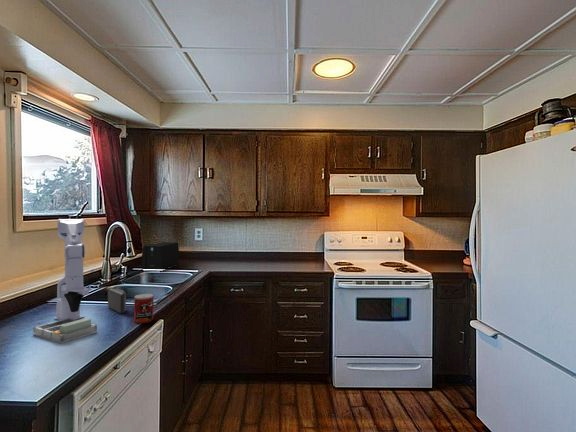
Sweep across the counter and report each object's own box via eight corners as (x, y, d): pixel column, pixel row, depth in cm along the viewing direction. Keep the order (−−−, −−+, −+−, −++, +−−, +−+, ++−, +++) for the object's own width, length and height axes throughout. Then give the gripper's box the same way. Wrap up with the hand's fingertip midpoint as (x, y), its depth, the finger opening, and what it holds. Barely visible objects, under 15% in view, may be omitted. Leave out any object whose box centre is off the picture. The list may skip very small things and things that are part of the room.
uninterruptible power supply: (141, 271, 275) (141, 245, 275) (161, 265, 309) (162, 241, 308) (161, 272, 273) (161, 246, 273) (180, 265, 307) (180, 242, 307)
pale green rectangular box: (59, 337, 133) (59, 325, 133) (85, 329, 142) (85, 318, 142) (64, 338, 132) (64, 326, 132) (90, 330, 140) (90, 319, 140)
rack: (33, 334, 137) (33, 325, 137) (69, 324, 149) (69, 316, 149) (61, 343, 129) (61, 334, 129) (96, 332, 141) (96, 323, 141)
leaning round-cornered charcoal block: (130, 312, 168) (130, 292, 168) (120, 314, 165) (120, 294, 164) (116, 306, 179) (116, 287, 179) (107, 307, 176) (107, 288, 175)
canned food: (134, 324, 151) (134, 298, 151) (134, 319, 158) (134, 294, 158) (153, 322, 154) (153, 297, 154) (152, 317, 161) (152, 292, 161)
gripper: (52, 275, 136) (52, 311, 136) (75, 279, 129) (75, 317, 129) (71, 272, 142) (71, 306, 142) (94, 276, 135) (94, 312, 136)
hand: (74, 311), depth 136 cm, fingers closed
